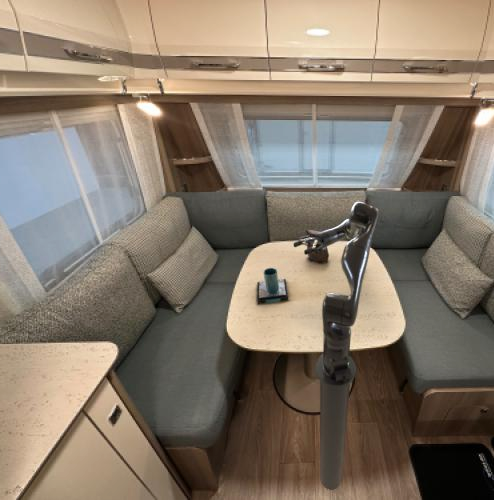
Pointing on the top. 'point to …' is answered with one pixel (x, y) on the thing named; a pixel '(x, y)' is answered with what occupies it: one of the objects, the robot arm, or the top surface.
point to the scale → (272, 293)
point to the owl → (321, 256)
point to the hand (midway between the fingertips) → (299, 248)
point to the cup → (271, 279)
